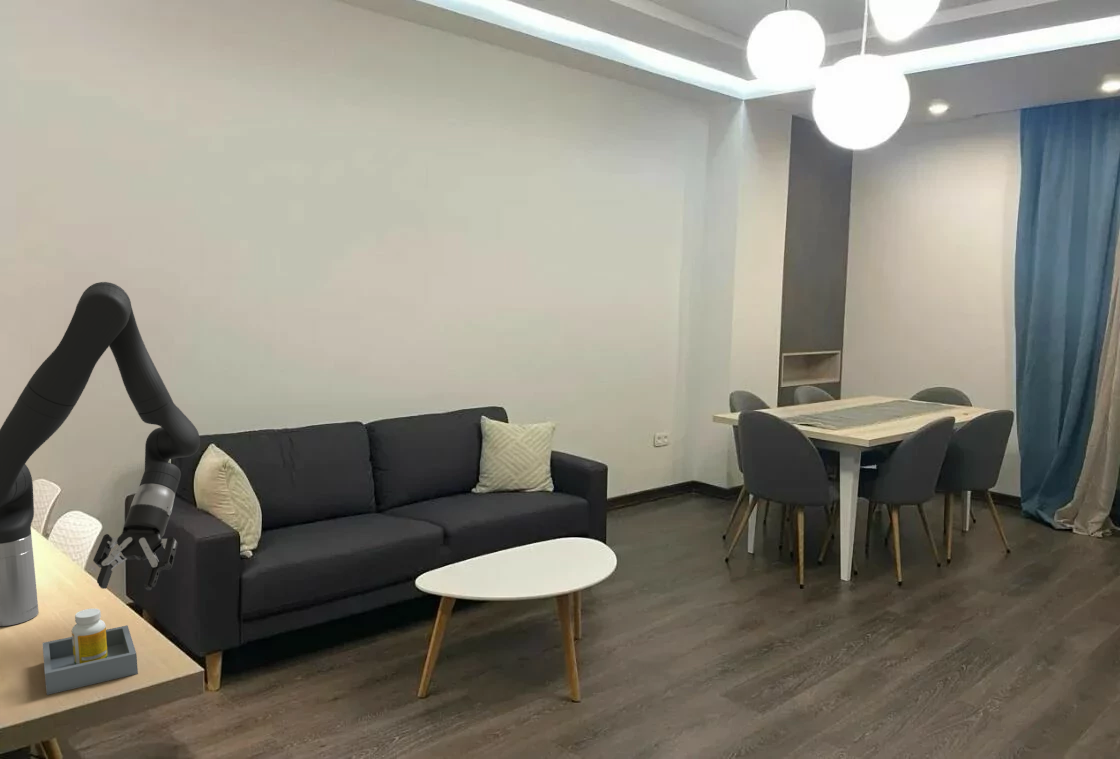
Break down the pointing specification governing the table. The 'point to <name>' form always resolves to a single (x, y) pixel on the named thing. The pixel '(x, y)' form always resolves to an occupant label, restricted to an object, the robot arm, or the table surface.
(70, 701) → the table surface
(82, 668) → the tray
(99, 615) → the supplement bottle
